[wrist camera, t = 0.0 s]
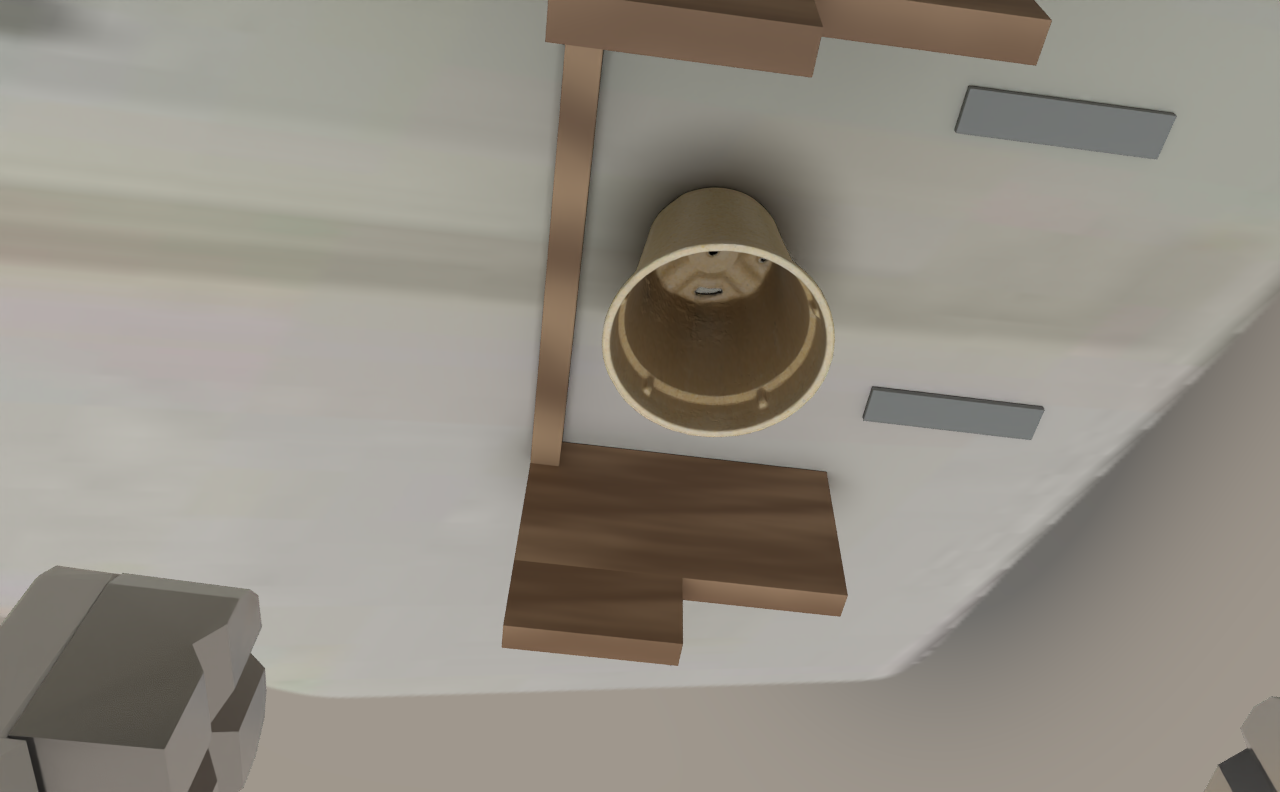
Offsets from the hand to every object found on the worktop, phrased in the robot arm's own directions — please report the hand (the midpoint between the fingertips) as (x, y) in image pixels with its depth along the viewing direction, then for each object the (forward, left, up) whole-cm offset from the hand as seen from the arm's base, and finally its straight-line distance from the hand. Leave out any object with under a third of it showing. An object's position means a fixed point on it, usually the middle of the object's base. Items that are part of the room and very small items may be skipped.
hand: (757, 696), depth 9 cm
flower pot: (+17, +3, -39) cm, 43 cm away
